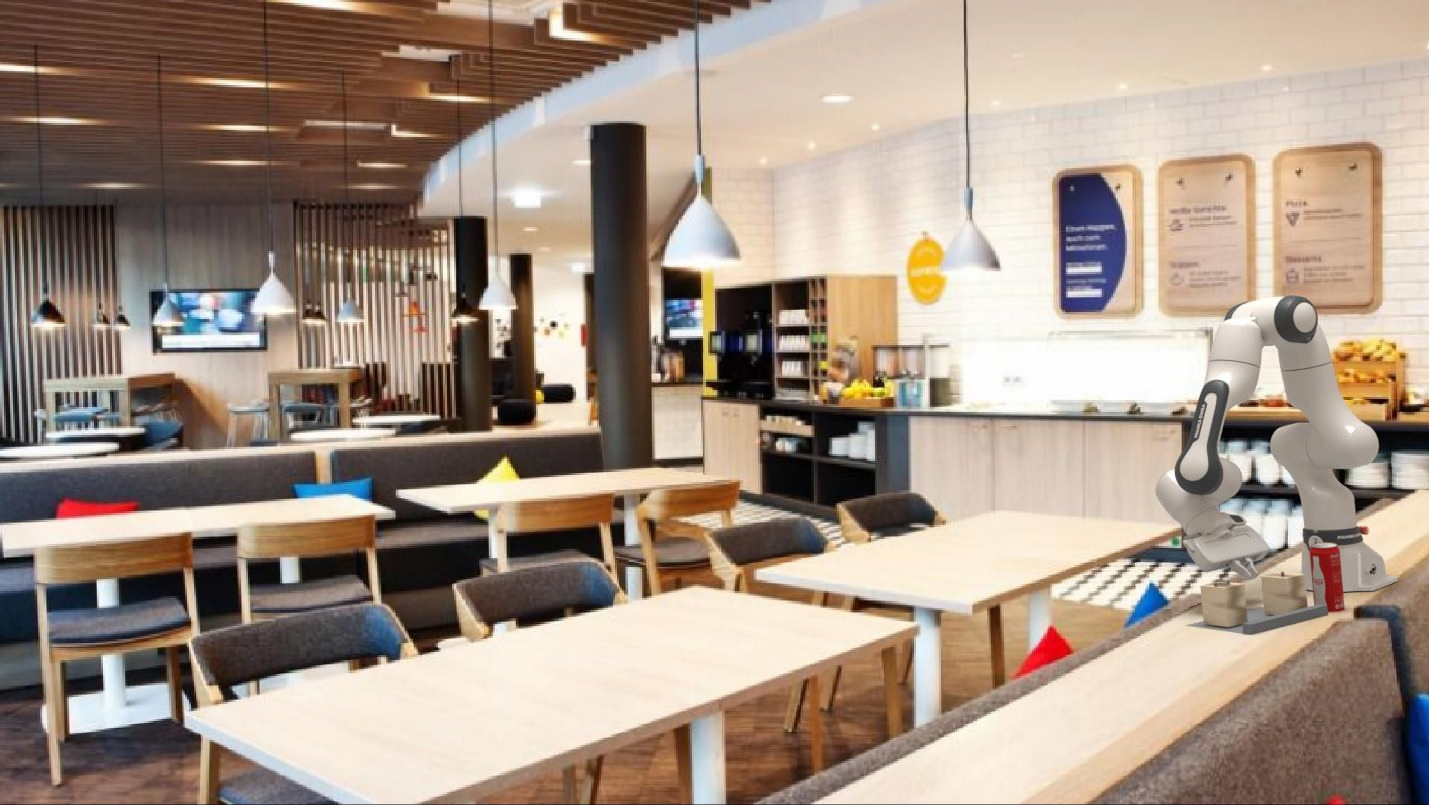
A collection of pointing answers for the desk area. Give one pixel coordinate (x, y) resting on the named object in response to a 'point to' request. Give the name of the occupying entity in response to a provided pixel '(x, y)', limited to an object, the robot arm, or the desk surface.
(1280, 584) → the wooden number block 1
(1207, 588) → the wooden digit block 2
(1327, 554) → the beverage can
